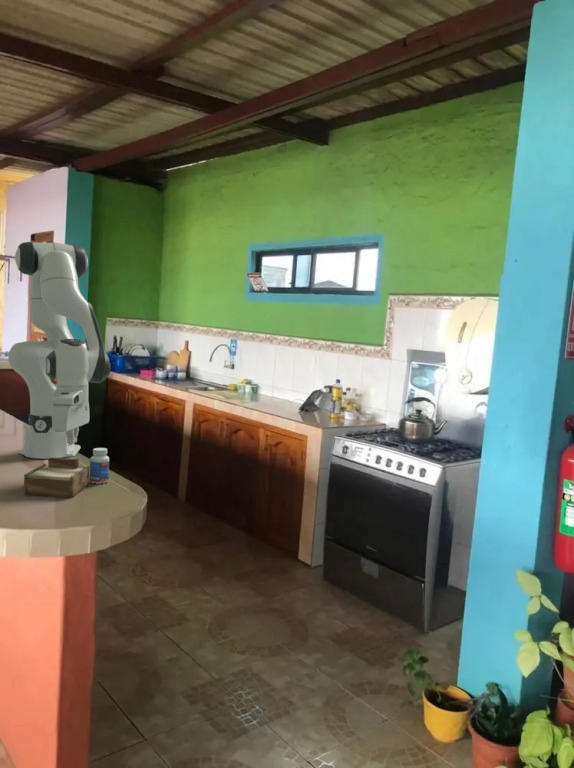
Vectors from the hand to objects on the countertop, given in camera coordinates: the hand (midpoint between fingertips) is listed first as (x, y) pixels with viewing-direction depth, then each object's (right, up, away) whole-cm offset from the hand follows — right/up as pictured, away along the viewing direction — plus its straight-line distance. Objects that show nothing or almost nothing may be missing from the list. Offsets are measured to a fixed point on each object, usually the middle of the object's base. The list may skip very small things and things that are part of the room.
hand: (72, 443), depth 184 cm
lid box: (-1, -12, -8) cm, 15 cm away
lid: (-1, -8, -9) cm, 12 cm away
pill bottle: (+7, -12, +2) cm, 14 cm away
